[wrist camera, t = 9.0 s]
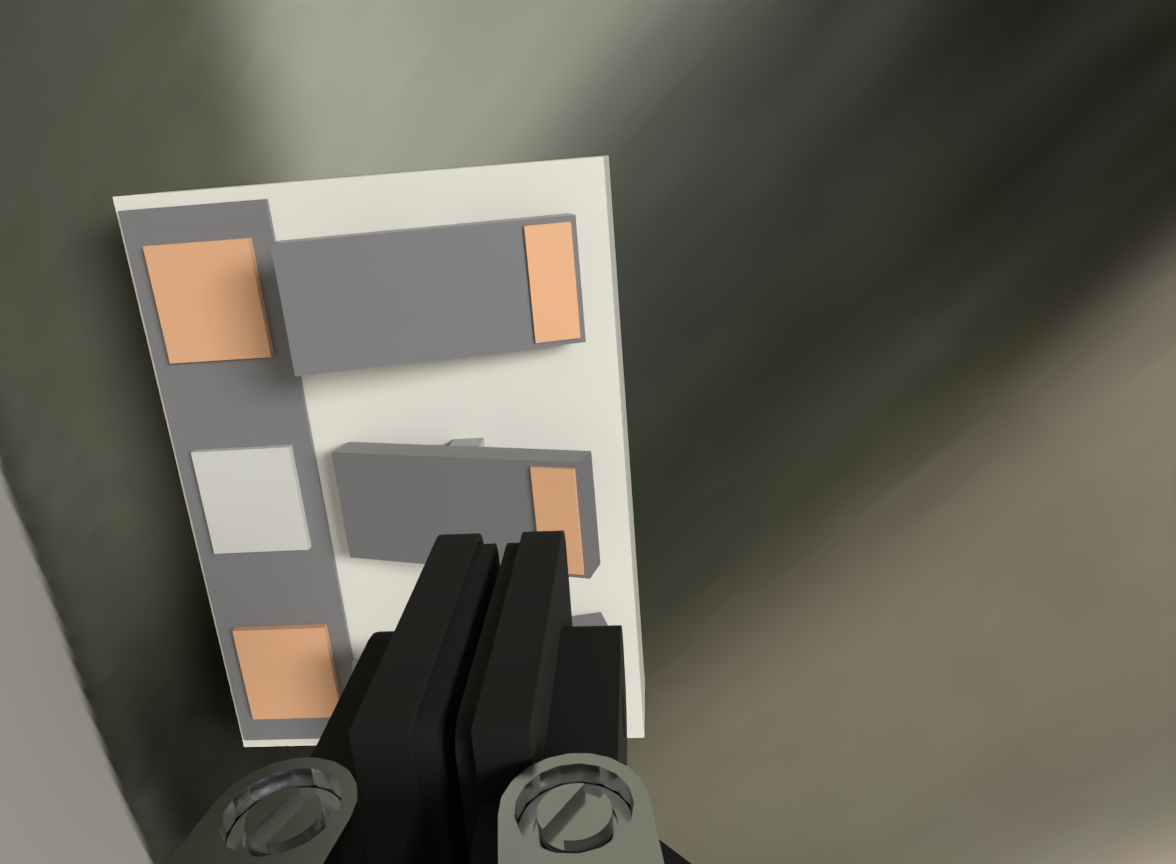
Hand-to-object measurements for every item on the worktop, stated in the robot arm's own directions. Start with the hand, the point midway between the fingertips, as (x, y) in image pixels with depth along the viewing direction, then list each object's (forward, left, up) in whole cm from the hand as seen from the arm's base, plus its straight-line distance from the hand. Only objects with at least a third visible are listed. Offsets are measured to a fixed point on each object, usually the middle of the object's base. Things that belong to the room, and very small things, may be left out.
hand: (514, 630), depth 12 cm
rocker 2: (+6, -5, -19) cm, 21 cm away
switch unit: (+6, -8, -26) cm, 28 cm away
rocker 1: (-2, -5, -19) cm, 20 cm away
